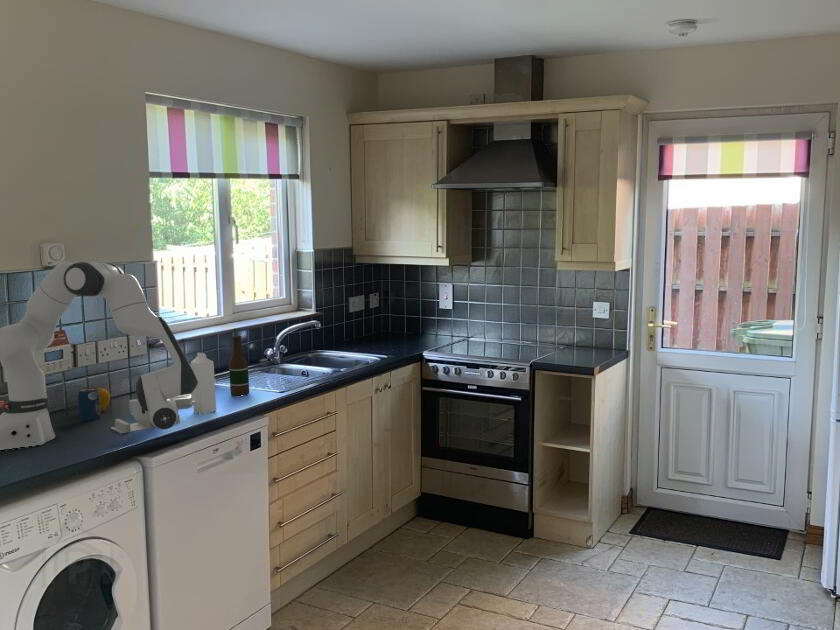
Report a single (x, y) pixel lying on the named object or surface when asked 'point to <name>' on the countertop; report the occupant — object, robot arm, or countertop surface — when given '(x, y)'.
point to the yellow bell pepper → (103, 398)
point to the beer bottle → (238, 370)
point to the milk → (204, 385)
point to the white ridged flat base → (134, 425)
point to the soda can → (89, 404)
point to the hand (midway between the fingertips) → (160, 398)
